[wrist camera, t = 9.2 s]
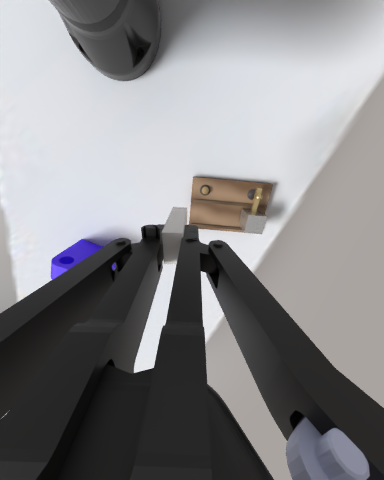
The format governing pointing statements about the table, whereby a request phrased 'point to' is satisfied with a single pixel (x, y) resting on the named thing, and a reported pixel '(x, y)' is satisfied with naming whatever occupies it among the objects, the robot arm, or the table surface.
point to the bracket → (73, 257)
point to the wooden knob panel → (224, 202)
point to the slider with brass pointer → (253, 216)
